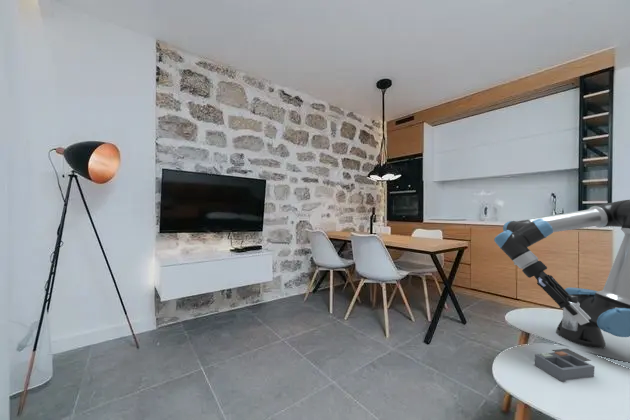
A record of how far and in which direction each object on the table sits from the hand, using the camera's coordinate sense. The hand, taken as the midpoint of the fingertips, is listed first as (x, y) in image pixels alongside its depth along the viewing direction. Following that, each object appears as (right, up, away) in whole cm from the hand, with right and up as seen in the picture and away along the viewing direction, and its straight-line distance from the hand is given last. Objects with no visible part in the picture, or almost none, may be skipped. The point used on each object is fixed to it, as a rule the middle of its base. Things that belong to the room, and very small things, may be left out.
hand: (585, 321), depth 90 cm
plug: (-2, -4, +3) cm, 6 cm away
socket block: (-7, -18, +1) cm, 20 cm away
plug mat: (+5, -18, +11) cm, 22 cm away
